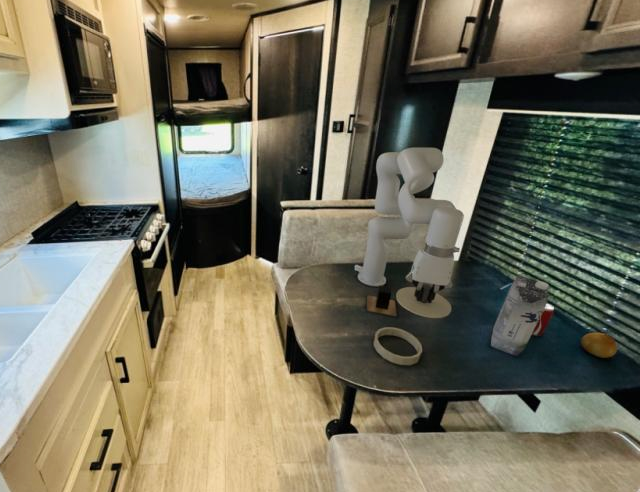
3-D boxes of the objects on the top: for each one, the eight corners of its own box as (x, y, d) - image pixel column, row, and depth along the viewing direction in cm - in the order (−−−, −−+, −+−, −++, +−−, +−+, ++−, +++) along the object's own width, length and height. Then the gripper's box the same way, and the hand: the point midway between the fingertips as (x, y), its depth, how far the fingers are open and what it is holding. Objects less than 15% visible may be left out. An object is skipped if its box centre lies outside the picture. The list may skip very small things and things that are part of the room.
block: (375, 307, 129) (378, 291, 125) (375, 301, 133) (378, 285, 129) (387, 310, 127) (391, 293, 124) (387, 303, 131) (390, 287, 128)
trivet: (366, 311, 127) (367, 310, 127) (367, 296, 137) (367, 295, 136) (396, 317, 124) (396, 316, 124) (394, 301, 133) (394, 300, 133)
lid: (387, 303, 101) (391, 286, 98) (405, 284, 111) (410, 268, 108) (441, 327, 91) (448, 308, 88) (456, 303, 101) (462, 286, 98)
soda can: (542, 338, 113) (556, 312, 108) (523, 332, 116) (536, 306, 110) (541, 330, 116) (554, 304, 111) (523, 325, 119) (535, 299, 114)
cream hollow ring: (366, 349, 109) (367, 341, 107) (383, 328, 118) (385, 321, 116) (410, 373, 99) (412, 365, 98) (425, 349, 108) (428, 342, 107)
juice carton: (487, 347, 109) (515, 282, 98) (490, 331, 116) (517, 269, 105) (520, 360, 104) (553, 293, 92) (521, 343, 111) (553, 279, 99)
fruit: (623, 362, 100) (625, 337, 100) (588, 355, 103) (590, 331, 104) (607, 357, 107) (609, 334, 108) (575, 351, 110) (576, 328, 111)
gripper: (466, 247, 93) (449, 298, 101) (406, 239, 98) (394, 288, 106) (473, 259, 87) (455, 312, 94) (409, 250, 92) (396, 301, 99)
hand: (423, 299), depth 100 cm, fingers closed on lid, 2 cm apart
